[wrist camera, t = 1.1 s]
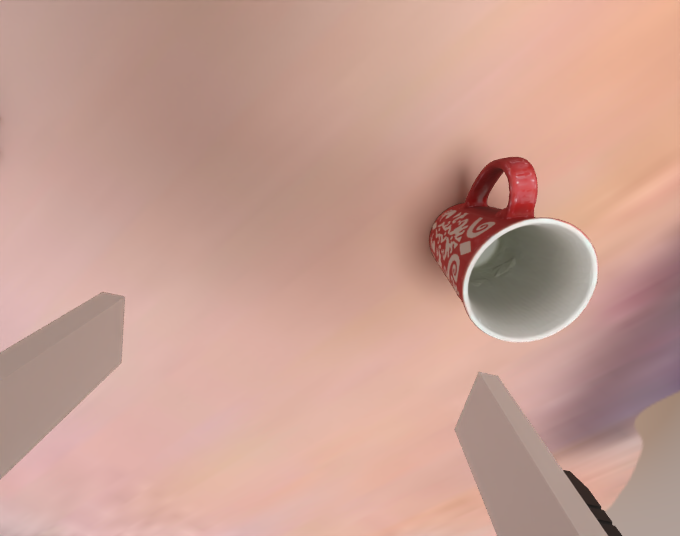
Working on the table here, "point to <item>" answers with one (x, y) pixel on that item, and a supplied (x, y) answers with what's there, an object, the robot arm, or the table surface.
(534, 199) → the mug
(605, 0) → the table surface
